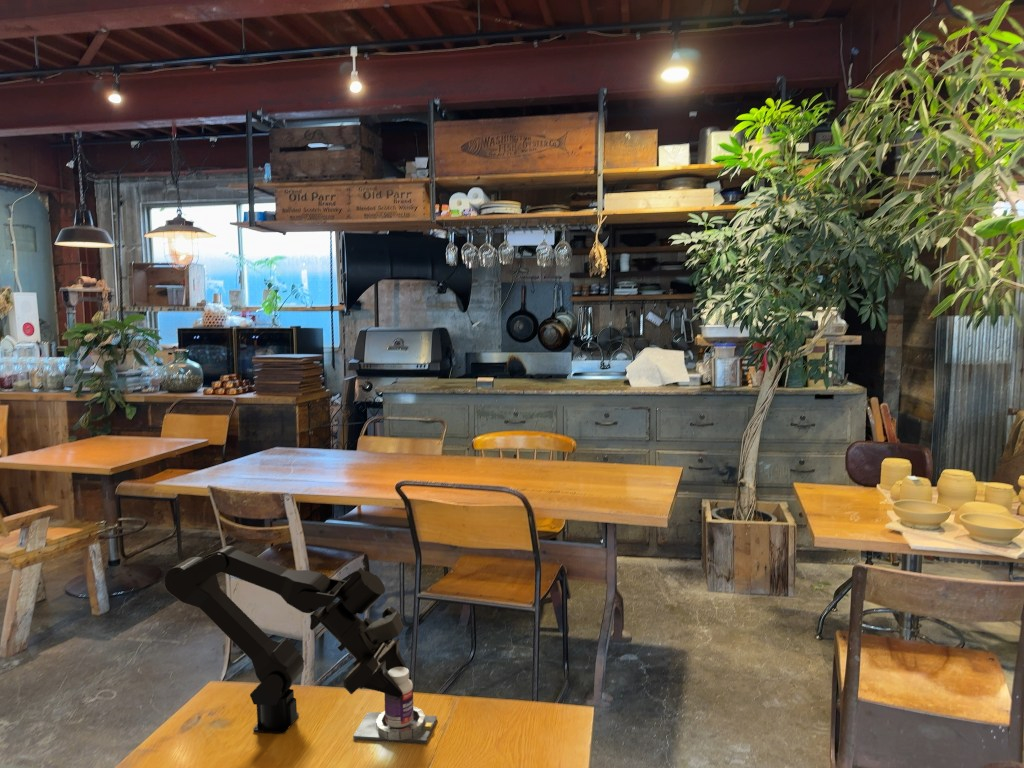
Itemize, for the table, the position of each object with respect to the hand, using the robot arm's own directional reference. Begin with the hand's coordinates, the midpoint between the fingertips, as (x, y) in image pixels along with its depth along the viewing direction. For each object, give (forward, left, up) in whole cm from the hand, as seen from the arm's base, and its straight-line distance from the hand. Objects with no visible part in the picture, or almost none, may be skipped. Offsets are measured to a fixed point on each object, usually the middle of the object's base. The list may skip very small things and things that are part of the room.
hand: (405, 687), depth 129 cm
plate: (-2, 0, -8) cm, 9 cm away
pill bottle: (-1, 0, -7) cm, 7 cm away
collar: (0, 0, -8) cm, 8 cm away
